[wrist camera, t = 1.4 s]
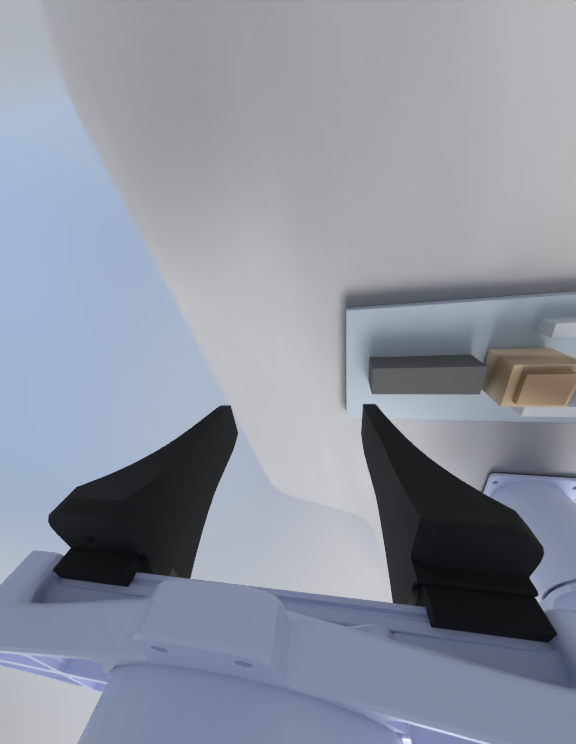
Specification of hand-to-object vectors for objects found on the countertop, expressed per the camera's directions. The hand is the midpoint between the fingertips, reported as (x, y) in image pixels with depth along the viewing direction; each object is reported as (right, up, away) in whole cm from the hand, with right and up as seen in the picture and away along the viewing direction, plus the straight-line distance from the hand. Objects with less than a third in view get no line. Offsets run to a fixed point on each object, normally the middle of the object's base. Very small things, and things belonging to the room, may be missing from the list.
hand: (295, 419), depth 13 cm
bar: (+11, +3, +8) cm, 14 cm away
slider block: (+18, +3, +6) cm, 19 cm away
